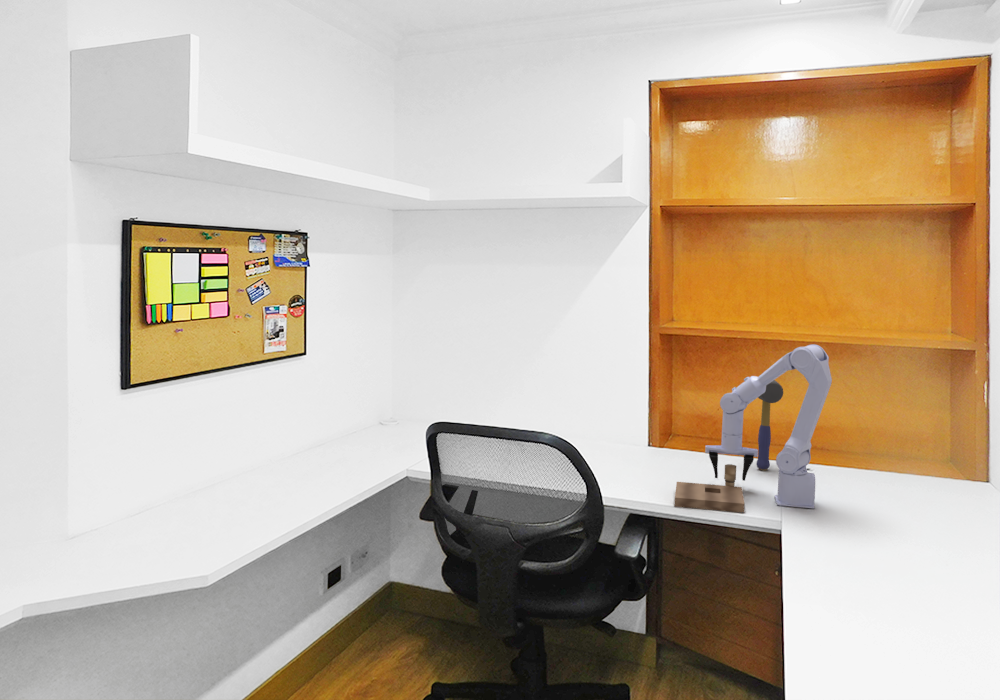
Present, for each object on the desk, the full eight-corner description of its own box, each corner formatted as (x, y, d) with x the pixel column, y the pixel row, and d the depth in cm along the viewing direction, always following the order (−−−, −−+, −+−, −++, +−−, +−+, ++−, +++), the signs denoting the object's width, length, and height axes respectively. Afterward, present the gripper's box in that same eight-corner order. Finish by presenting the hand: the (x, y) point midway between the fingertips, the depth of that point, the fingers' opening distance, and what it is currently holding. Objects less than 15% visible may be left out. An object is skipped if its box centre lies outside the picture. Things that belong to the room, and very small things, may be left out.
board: (741, 495, 205) (741, 487, 205) (744, 512, 191) (744, 503, 191) (676, 489, 210) (676, 481, 210) (674, 506, 196) (674, 497, 196)
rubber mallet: (780, 475, 225) (785, 381, 221) (756, 475, 226) (761, 380, 222) (768, 464, 237) (773, 374, 234) (745, 464, 238) (750, 374, 234)
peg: (735, 487, 212) (736, 464, 212) (735, 491, 209) (736, 467, 209) (723, 486, 213) (724, 463, 213) (724, 490, 210) (725, 466, 209)
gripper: (757, 431, 211) (755, 476, 213) (706, 428, 215) (704, 472, 217) (759, 437, 205) (756, 483, 206) (706, 433, 208) (704, 479, 210)
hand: (729, 478), depth 211 cm, fingers open, 7 cm apart
